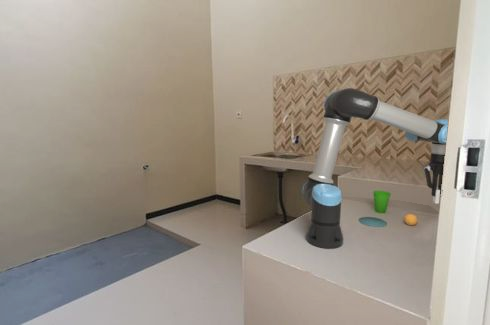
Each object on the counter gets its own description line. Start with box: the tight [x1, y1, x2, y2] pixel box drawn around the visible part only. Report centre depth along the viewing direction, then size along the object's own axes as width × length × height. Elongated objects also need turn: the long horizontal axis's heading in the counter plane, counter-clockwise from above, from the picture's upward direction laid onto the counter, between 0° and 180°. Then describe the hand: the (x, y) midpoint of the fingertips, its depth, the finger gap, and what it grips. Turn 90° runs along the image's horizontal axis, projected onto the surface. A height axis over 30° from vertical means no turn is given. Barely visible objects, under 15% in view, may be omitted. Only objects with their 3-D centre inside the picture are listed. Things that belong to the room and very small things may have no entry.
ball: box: [403, 213, 418, 226], centre depth 133 cm, size 6×6×6 cm
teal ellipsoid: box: [358, 216, 388, 228], centre depth 138 cm, size 13×13×1 cm
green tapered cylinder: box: [372, 190, 392, 214], centre depth 152 cm, size 9×9×11 cm
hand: (435, 202), depth 130 cm, fingers closed
